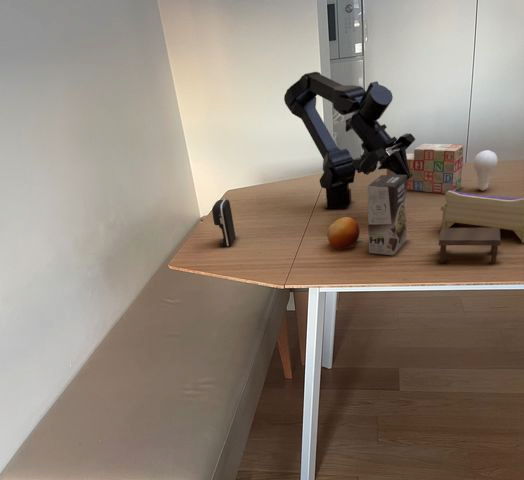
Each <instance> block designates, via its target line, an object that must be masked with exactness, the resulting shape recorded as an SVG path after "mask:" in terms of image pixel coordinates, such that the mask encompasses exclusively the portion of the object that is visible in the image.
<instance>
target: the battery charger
mask: <svg viewBox="0 0 524 480" xmlns="http://www.w3.org/2000/svg"><path fill="white" fill-rule="evenodd" d="M230 202H231V201H230V200H229V199H226V198H224V199H219V200H217V201H216V202H215V203H214V204H213V205H212V209H211V213H212V220H213V225H215V226H218V227H219V229H221V233H222V237H223V238H222V240H221V242H220V246H221V247H231V246H232V245H233V243H234V241H235V239H236V237H237V236H236V231H235V225H234V220H233V212H232V207H231V203H230Z"/></svg>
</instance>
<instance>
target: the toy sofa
mask: <svg viewBox="0 0 524 480" xmlns="http://www.w3.org/2000/svg"><path fill="white" fill-rule="evenodd" d="M444 198H445V203H443V204H442V205H441V206H440V211H442V216H441V217H442V218H441V228H452V226H453V225H454V224H465V225H470V226H471V225H472V226H480V227H485V228H500V230H508V231H513V232H514V234H515V235H516V236H517V237H518V238H519V239H520V242H521V243H522V244H524V197H507V196H498V195H497V196H494V195H493V196H492V195H480V194H473V193H466V192H461V191H448V192H446V194H444Z"/></svg>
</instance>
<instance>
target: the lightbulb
mask: <svg viewBox="0 0 524 480" xmlns="http://www.w3.org/2000/svg"><path fill="white" fill-rule="evenodd" d="M498 161H499V160H498V156H497V154H496V153H495V152H494V151H492V150H487V149H485V150H482V151H480V152H478V153H477V154H476V156H475V157H474V160H473V168H474V170H475V172H476V175H477V182H478V186H477V187H478V188H477V189H479V190H480V191H485V190H487V189H488V188H489V183H490V180H491V177H492V173H493V171H494V170H495V168H496V167H497V165H498Z"/></svg>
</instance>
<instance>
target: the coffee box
mask: <svg viewBox="0 0 524 480" xmlns="http://www.w3.org/2000/svg"><path fill="white" fill-rule="evenodd" d="M407 215H408V190H407V175H387V174H381V175H379V176H378V177H377V178H376V179H374V181H372V182H371V183H370V184H369V185H367V216H368V218H367V219H368V220H367V221H368V223H367V224H368V253H369V254H375V255H376V254H378V255H385V256H394V255H395V254H396V253H397V252H398V251H399V250H400V249H401V248H402V247H403V245H404V244H405V243H406V242H407V232H408V231H407V227H408V226H407V225H408V223H407V221H408V219H407V218H408V216H407Z"/></svg>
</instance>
